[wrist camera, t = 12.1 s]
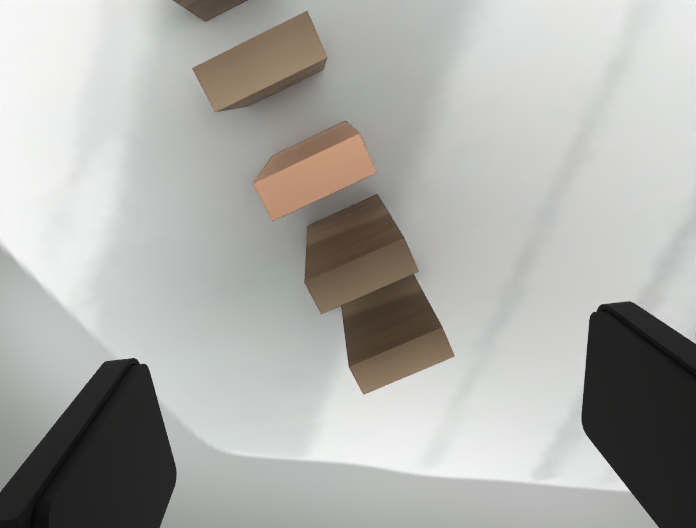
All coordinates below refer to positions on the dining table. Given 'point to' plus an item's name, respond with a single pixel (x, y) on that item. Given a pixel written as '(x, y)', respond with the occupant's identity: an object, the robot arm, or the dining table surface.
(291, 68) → the domino
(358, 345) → the domino
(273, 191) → the domino
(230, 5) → the domino
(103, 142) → the dining table surface
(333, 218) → the domino
